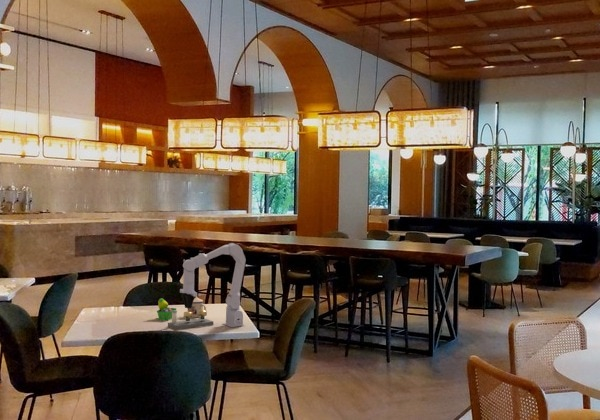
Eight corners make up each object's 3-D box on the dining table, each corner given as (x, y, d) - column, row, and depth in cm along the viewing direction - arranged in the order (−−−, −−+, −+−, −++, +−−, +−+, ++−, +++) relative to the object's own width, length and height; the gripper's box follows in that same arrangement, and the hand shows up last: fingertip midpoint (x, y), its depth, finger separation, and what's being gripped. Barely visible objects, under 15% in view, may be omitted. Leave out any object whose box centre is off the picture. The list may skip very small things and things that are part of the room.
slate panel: (213, 325, 359) (213, 321, 359) (177, 329, 345) (177, 326, 345) (203, 321, 367) (203, 318, 367) (167, 326, 353) (167, 322, 353)
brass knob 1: (193, 320, 353) (193, 312, 353) (186, 321, 350) (186, 313, 350) (189, 319, 357) (189, 311, 356) (182, 320, 354) (182, 312, 354)
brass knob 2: (208, 319, 359) (208, 311, 359) (201, 320, 356) (201, 311, 356) (203, 317, 362) (203, 309, 362) (196, 318, 360) (196, 310, 359)
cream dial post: (177, 323, 351) (178, 310, 351) (173, 324, 350) (173, 311, 349) (175, 322, 354) (175, 310, 353) (170, 323, 352) (170, 310, 352)
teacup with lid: (183, 316, 380) (184, 296, 380) (193, 314, 388) (194, 294, 388) (200, 319, 375) (201, 298, 374) (210, 316, 383) (210, 296, 382)
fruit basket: (168, 321, 367) (169, 300, 366) (153, 320, 368) (154, 299, 368) (176, 317, 378) (177, 297, 377) (162, 316, 380) (162, 296, 379)
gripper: (175, 281, 356) (174, 306, 356) (189, 284, 345) (188, 311, 345) (186, 280, 360) (186, 305, 361) (200, 283, 349) (200, 309, 350)
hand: (188, 308), depth 353 cm, fingers closed
